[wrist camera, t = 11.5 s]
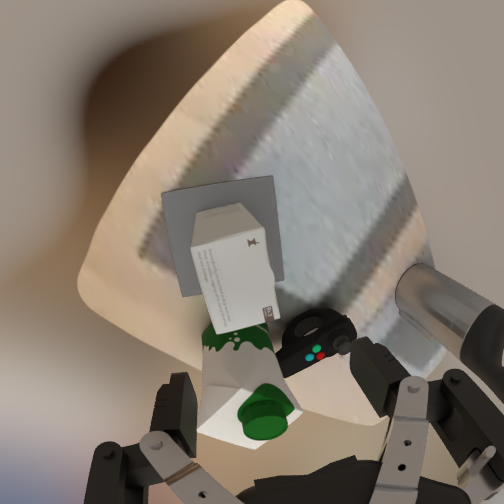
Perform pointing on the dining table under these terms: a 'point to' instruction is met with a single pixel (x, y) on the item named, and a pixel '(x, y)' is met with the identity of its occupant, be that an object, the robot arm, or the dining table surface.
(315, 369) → the dining table surface
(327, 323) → the controller
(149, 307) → the dining table surface
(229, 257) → the skincare box
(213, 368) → the milk carton
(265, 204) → the mat
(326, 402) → the dining table surface
